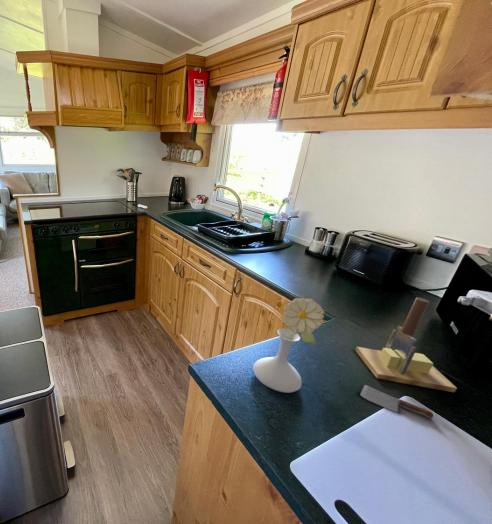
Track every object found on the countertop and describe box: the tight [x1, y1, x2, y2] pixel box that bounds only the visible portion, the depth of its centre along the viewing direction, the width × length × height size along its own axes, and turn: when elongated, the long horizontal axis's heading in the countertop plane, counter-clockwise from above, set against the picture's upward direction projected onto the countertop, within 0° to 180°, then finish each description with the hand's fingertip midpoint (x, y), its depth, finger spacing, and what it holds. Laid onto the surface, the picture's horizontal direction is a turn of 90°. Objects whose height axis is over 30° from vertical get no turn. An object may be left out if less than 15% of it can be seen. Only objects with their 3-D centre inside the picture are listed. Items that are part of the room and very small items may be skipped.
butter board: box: [355, 328, 458, 393], centre depth 79 cm, size 18×12×10 cm, turn 78°
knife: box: [391, 296, 430, 357], centre depth 76 cm, size 3×6×16 cm, turn 168°
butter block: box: [393, 349, 434, 374], centre depth 79 cm, size 7×4×4 cm, turn 78°
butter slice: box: [379, 347, 400, 368], centre depth 80 cm, size 2×4×4 cm, turn 168°
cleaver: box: [359, 384, 434, 419], centre depth 68 cm, size 13×2×5 cm
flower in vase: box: [252, 297, 325, 394], centre depth 68 cm, size 13×11×25 cm
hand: (475, 308), depth 72 cm, fingers open, 8 cm apart
